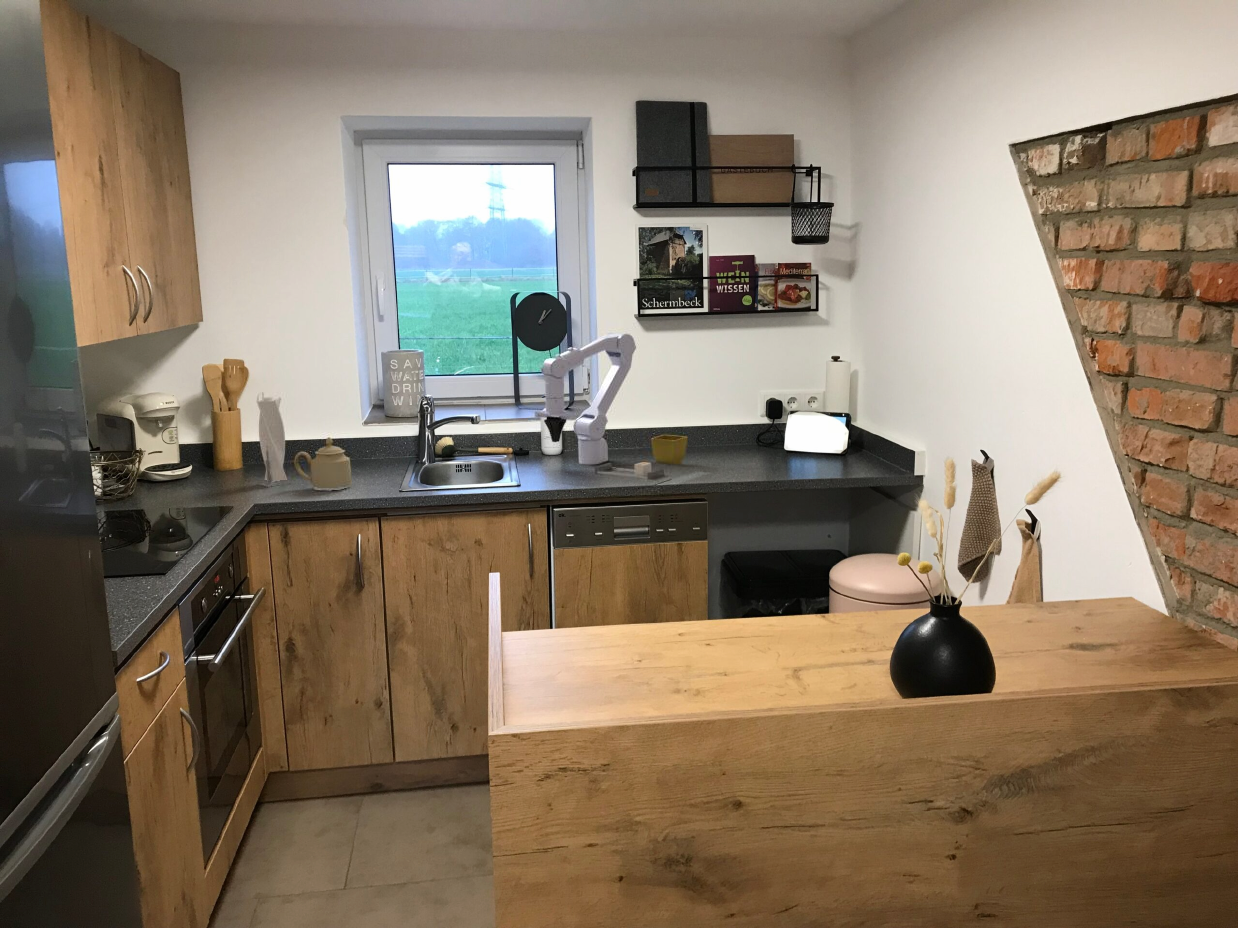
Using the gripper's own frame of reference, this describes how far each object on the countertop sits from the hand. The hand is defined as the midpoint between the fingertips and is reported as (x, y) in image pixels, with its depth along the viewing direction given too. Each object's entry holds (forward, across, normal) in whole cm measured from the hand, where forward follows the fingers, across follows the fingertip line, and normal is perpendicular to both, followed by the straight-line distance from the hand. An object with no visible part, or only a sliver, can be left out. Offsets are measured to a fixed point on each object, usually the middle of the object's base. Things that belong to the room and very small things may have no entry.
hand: (555, 441), depth 299 cm
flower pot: (+9, +26, +26) cm, 37 cm away
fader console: (+9, +26, +1) cm, 28 cm away
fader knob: (+8, +31, +1) cm, 32 cm away
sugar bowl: (+11, -45, -52) cm, 70 cm away
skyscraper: (+11, -65, -54) cm, 86 cm away
